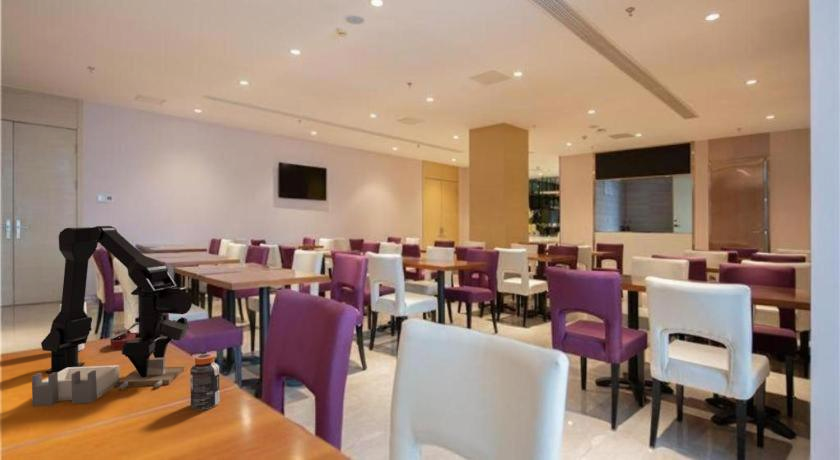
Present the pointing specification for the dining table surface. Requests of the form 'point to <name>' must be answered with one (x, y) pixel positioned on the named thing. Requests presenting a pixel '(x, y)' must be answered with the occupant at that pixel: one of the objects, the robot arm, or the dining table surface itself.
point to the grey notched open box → (74, 384)
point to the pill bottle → (204, 382)
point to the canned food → (122, 338)
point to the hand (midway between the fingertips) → (152, 370)
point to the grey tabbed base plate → (152, 375)
